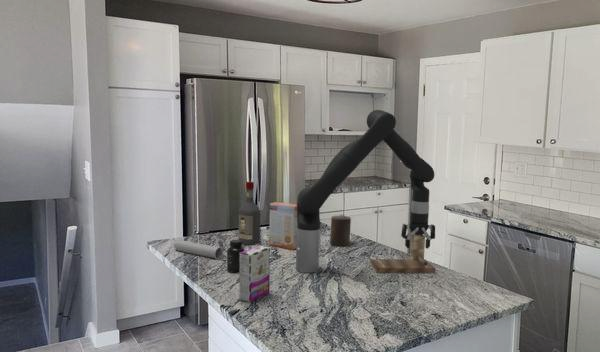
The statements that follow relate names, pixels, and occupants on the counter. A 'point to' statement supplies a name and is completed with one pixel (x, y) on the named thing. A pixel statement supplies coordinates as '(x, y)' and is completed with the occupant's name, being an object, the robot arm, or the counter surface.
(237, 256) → the supplement bottle
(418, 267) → the walnut board
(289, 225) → the cracker box
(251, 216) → the liquor
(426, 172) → the robot arm
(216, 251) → the tube
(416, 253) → the marking gauge
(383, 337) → the counter surface
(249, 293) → the candy bar box
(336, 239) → the pillar candle
